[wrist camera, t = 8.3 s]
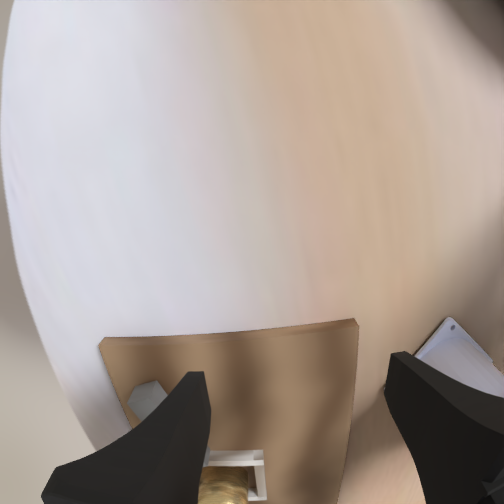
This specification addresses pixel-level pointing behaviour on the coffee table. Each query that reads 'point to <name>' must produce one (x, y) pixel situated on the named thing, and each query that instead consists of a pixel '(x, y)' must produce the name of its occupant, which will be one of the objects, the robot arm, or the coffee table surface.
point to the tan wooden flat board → (256, 400)
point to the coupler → (223, 485)
